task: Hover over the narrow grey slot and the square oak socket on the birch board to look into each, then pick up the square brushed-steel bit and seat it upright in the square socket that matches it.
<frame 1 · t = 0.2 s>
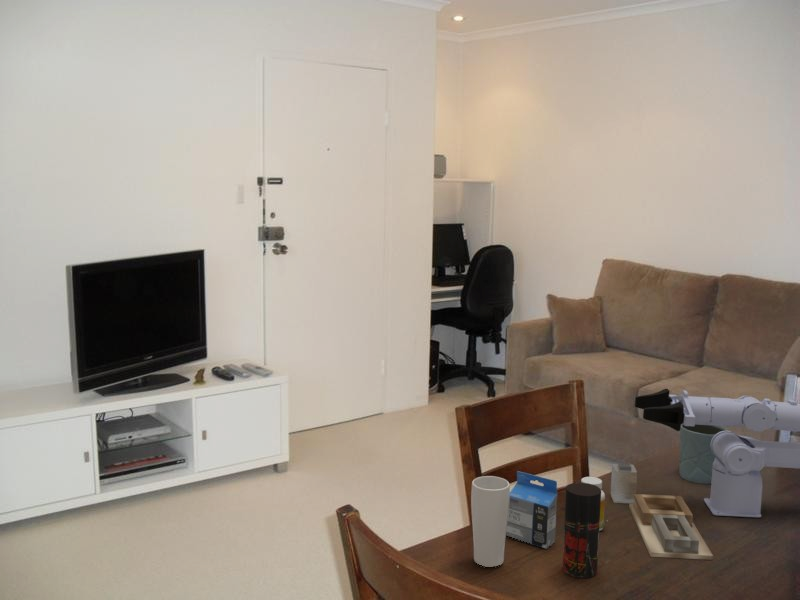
hand: (639, 407, 166), 21 cm above the table, tool horizontal, fingers open, 7 cm apart
socket board: (666, 528, 159), on the table
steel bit: (622, 498, 174), on the table
drinking glass 2: (488, 563, 145), on the table
deodorant: (579, 570, 142), on the table
green plant pot: (700, 477, 186), on the table
supplement bottle: (589, 527, 160), on the table
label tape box: (530, 540, 154), on the table
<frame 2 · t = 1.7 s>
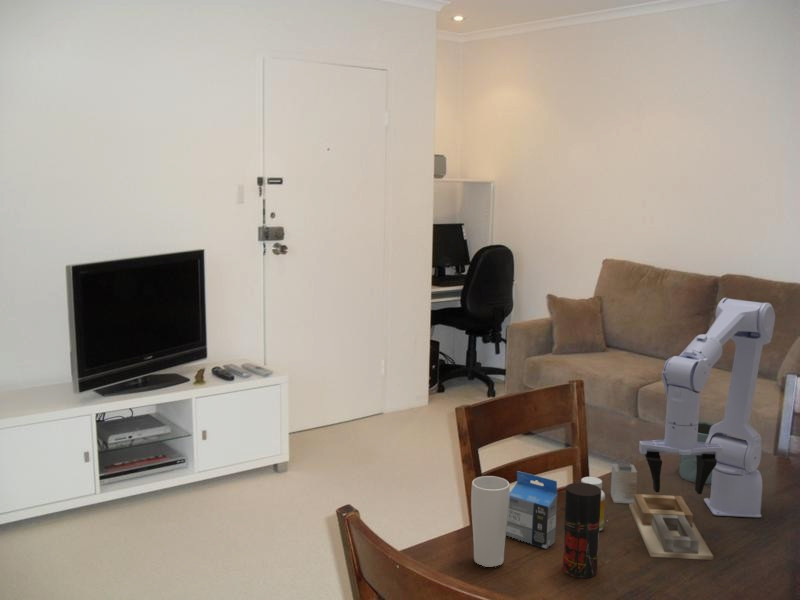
hand: (677, 491, 151), 10 cm above the table, tool pointing down, fingers open, 7 cm apart
nothing on the table moved.
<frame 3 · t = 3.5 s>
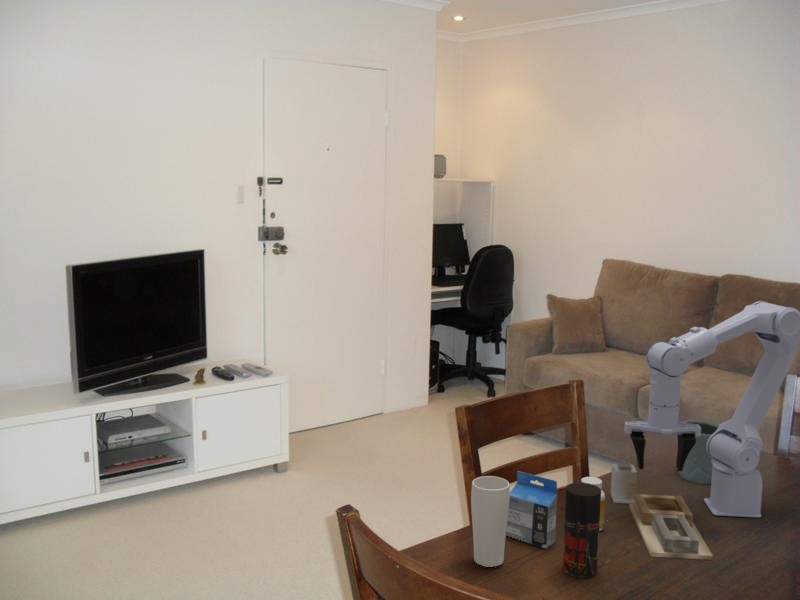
hand: (659, 468, 163), 10 cm above the table, tool pointing down, fingers open, 7 cm apart
nothing on the table moved.
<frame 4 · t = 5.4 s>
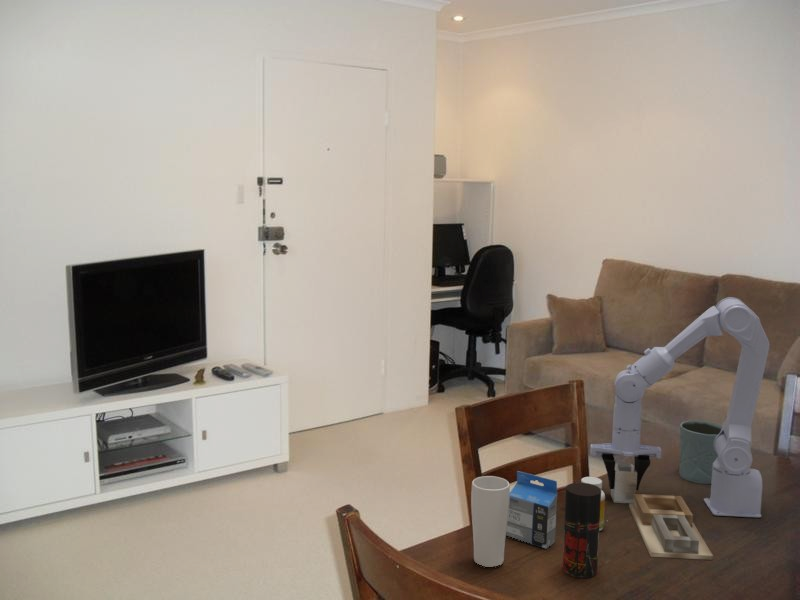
hand: (623, 488, 173), 2 cm above the table, tool pointing down, fingers closed on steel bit, 4 cm apart
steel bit: (622, 498, 174), on the table, touching gripper
everything else where it was.
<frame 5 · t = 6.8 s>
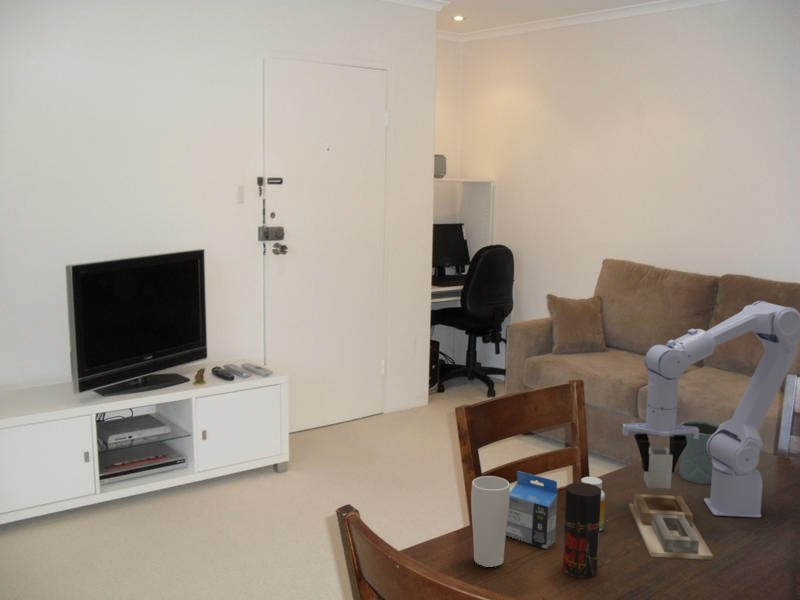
hand: (658, 470, 163), 10 cm above the table, tool pointing down, fingers closed on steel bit, 4 cm apart
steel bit: (656, 483, 164), point 7 cm above the table, touching gripper
everything else where it was.
when the fingers open (5 cm above the table, at t = 8.4 s): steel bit stays where it is, resting on socket board.
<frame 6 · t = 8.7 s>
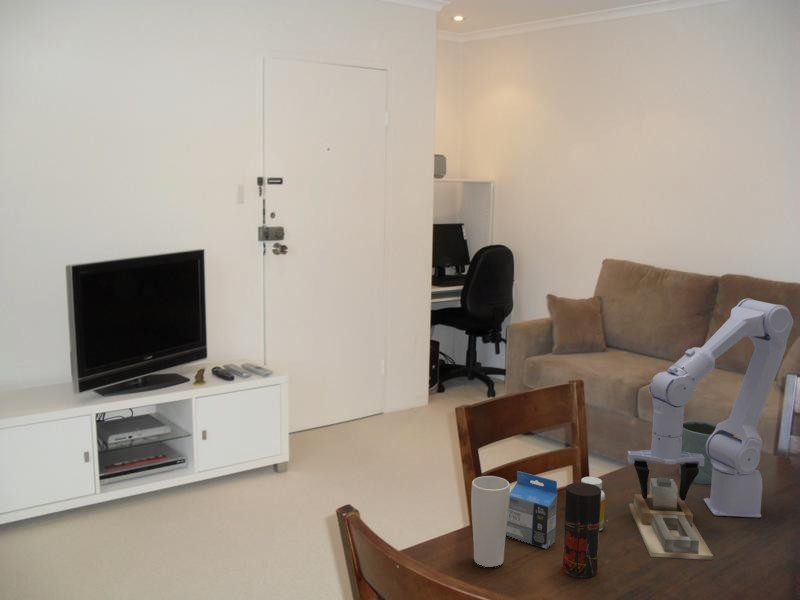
hand: (663, 497, 162), 5 cm above the table, tool pointing down, fingers open, 7 cm apart
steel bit: (661, 515, 163), point 1 cm above the table, touching socket board
everything else where it was.
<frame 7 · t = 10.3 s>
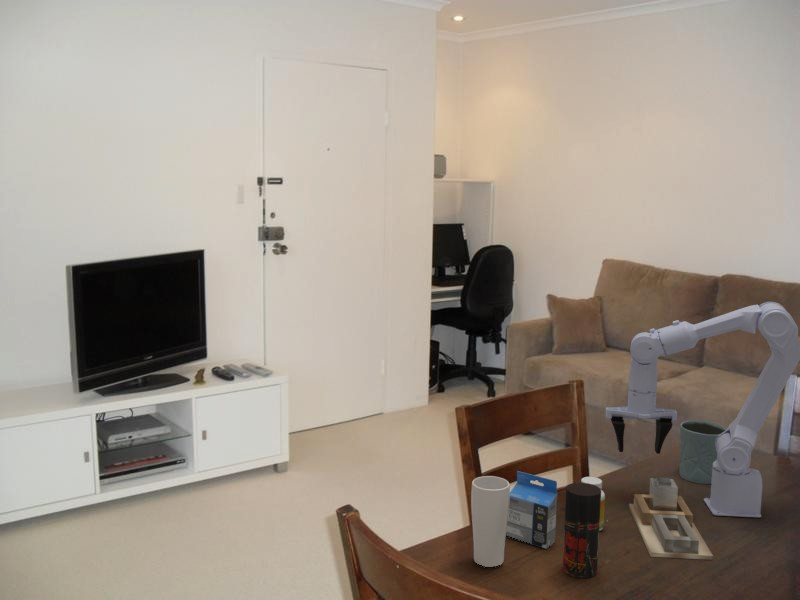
hand: (638, 451, 173), 10 cm above the table, tool pointing down, fingers open, 7 cm apart
nothing on the table moved.
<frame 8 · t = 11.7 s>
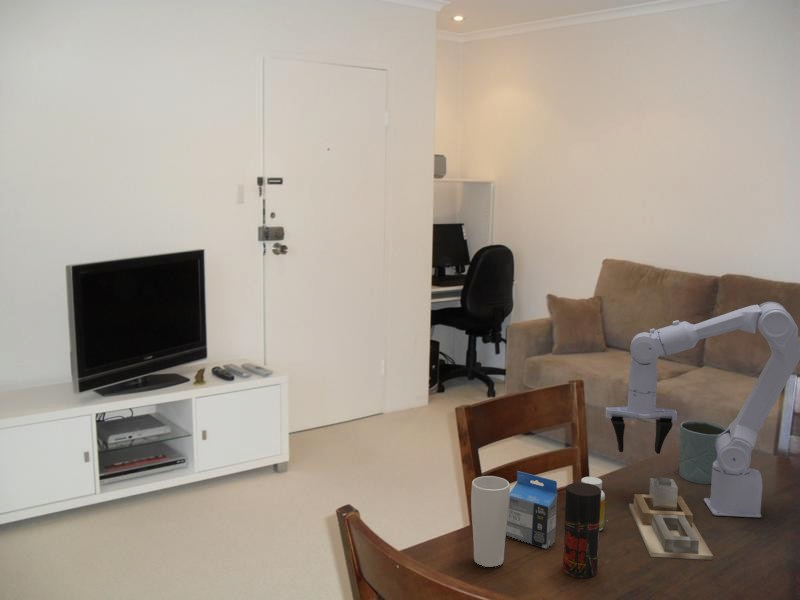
hand: (638, 451, 173), 10 cm above the table, tool pointing down, fingers open, 7 cm apart
nothing on the table moved.
at the end: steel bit 0.2 cm from the target spot on the socket board, point 0.8 cm above the socket board's base; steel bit tilted 0°; the gripper is holding nothing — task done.
